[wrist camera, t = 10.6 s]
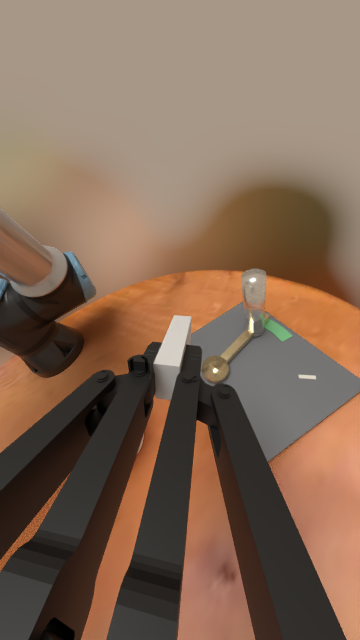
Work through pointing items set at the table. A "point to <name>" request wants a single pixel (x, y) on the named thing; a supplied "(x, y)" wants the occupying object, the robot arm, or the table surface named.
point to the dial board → (277, 378)
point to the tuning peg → (255, 320)
